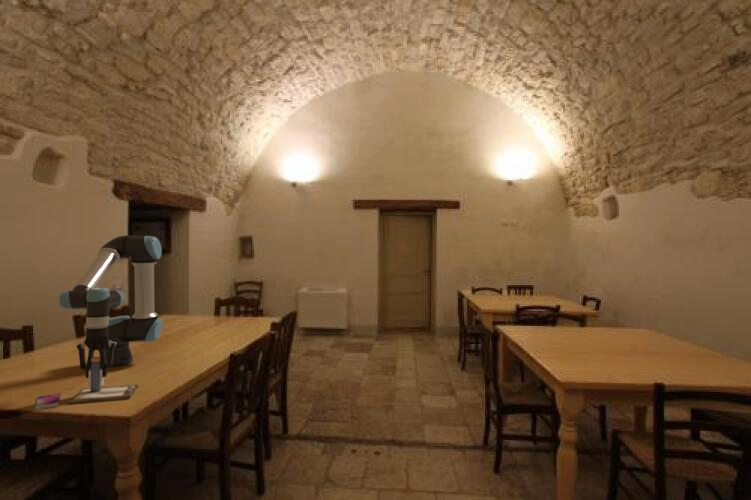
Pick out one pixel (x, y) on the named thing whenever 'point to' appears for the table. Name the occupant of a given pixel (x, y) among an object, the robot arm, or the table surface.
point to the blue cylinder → (95, 373)
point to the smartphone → (47, 401)
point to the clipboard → (104, 394)
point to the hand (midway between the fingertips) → (96, 385)
